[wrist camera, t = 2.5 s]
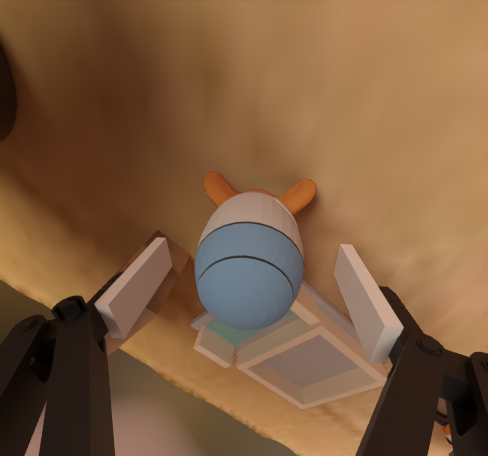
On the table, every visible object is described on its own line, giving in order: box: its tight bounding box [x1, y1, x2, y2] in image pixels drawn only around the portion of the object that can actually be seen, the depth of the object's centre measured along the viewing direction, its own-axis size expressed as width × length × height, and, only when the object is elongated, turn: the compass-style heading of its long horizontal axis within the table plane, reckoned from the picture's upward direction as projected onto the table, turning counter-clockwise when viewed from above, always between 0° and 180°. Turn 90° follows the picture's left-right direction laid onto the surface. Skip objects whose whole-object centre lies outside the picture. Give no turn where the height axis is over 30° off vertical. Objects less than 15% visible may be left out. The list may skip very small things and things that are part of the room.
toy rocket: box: [195, 172, 317, 330], centre depth 17 cm, size 10×11×15 cm
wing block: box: [104, 231, 191, 357], centre depth 24 cm, size 5×12×9 cm, turn 137°
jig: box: [190, 279, 391, 410], centre depth 30 cm, size 24×18×4 cm
